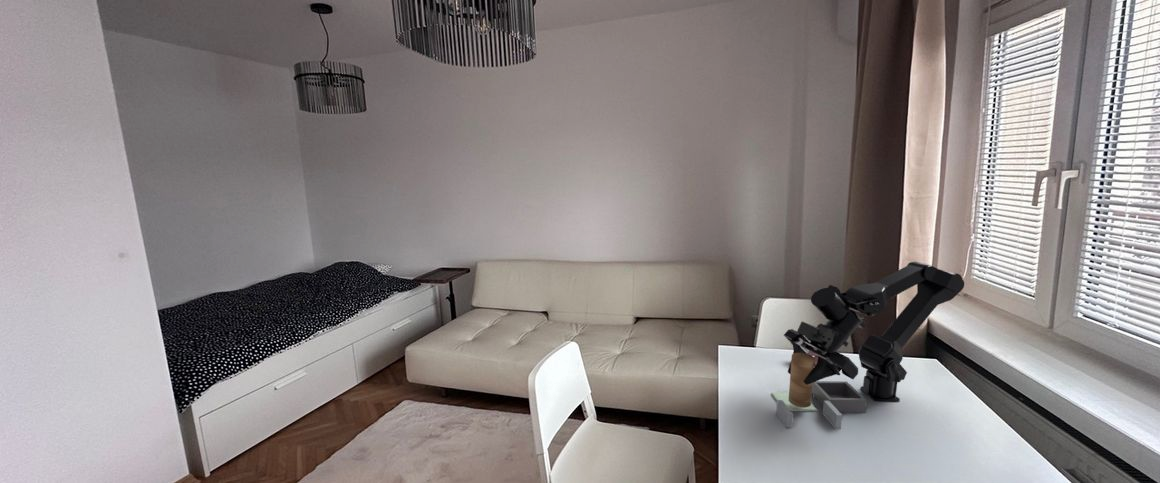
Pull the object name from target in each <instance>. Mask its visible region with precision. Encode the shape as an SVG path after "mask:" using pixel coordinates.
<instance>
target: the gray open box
mask: <svg viewBox="0 0 1160 483" xmlns="http://www.w3.org/2000/svg"><path fill="white" fill-rule="evenodd" d="M812 396H813V398H814V399H815V400H816V401H817V402H818V403H819V404H820V405H821V407H823V406H824V401H830V402H831V403H832V405H833V406H834V407H835V408H836V409H837V410H838V411H839V412H840V413H841V414H842V413H845V414H866V411H867V402H868V400H867V399H866V397H864V396H863V395H862V394H861V393H860V392H859V391H858V390H856V389H855V388H854V387H853V386H852V385H851V384H850V383H849V382H848V381H839V380H837V381H836V380H835V381H833V380H831V381H830V380H829V381H827V380H826V381H824V380H822V381H820V380H818V381H816V382H813V385H812Z"/></svg>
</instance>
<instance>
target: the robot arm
mask: <svg viewBox="0 0 1160 483" xmlns="http://www.w3.org/2000/svg"><path fill="white" fill-rule="evenodd" d="M914 286H916V290H917V291H916V294H915V295H914V297H912V299H911V300H910V301H909V302H908V303H907V305H906V306H905V307H904V309H903V310H902V311H901V312H900V313H899V314H898V316H897V317H896V318H895V319H894V321H893V322H892V323H891V324H890V326H888V328H886V331H884V333H882V334H881V335H879V336H877V335H874V334H870V335H869V336H868V337H867V338H866V340H865V341H864V343H862V344H861V345H860V346H861V347H860V348H859V350H858V358H859V362H860V366H861V368H863V369H865V370H866V373H865V375H864V376H863V383H862V384H863V385H862V386H860V389H861V390H862V391H863V392H864V393H865V394H866V395H867V396H868V397H869V398H870V399H872V400H873V401H874V402H899V401H901V400H900V399H901V398H899V397H898V396H897V391H898V390H897V389H898V383H901V381H904V380H905V378H906V376H907V373H908V371H907V370H906V369H905V368H904V366H902V365H901V362H902V361H903V359H904V358H903V353H904V351H903V348H904V346H906V344H907V343H908V341H909V340H910V339H911V338H912V337H913V336H914V334H915V333H916V331H918V330H919V328H920V327H921V326H922V325H923V323H924V322H925V321H926V320H927V319H928V318H929V316H930V315H931V314H932V312H933V311H934V310H935V309H936V308H937V307H938V306H939V305H941V304H944V303H946V302H949V301H952V300H953V299H955V297H957V295H959V294H960V293H961V291H963V289H964V287H965V281H964V280H963V277H962V275H961V274H960V273H958V272H957V273H956V272H953V271H948V270H944V269H940V268H937V267H935V266H933V265H931V264H929V263H925V262H920V261H917V260H916V261H915V260H914V261H910V262H909V263H907V265H906V266H904V267H902V268H900V269H898V270H897V271H894V272H893V273H891V274H889V275H887V276H885V277H883V278H881V279H880V280H877V281H876V282H872V283H862V284H858V285H854V286H852V287H850V288H848V289H847V290H846V291H841V290H840V289H839V288H838V287H839V286H836V285H833V284H829V285H828V286H827V287H825V288H824V287H823V288H820V289H819V290H816V291H815V292H813V294H812V295H811V297H810V302H811V304H812V305H813V306H814V307H815V308H816V310H817V311H818V312H819V313H820V314H821V315H822V317H824V318H825V319H826V320H827V321H826V323H825V324H823V323H819V324H818V325H816V326H815V325H813V324H809V323H807V322H805V321H803V320H802V321H801V322H800V325H798V326H799V327H798V328H797V329H796V330H795V329H794V328H791V329H787V331H786V332H785V333H784V334H783V337H784V338H785V339H787V342H789V343H790V344H791V345H792V349H793V353H806V354H807V353H808V351H811V352H813V353H815V354H817V355H818V362H817V365H814V368H813V370H812V371H811V372H810V373H809V375H808V376H807V377H806V379H805V380H804V383H805V384H806V385H808V384H811V383H813V382H816V381H820V380H823V379H826V378H830V377H832V376H836V375H837V376H841V373H842V375H844V376H846V377H848V378H850V379H851V380H854V379H855V378H856V377H857V376H858V375H859V367H858V366H857V365H856V364H855V363H854V362H853V361H852V359H850V358H849V357H848V356H847V355H844V354H842V353H841V352H838V351H839V350H840V348H842V346H843V347H845V348H846V347H848V345H849V342H848V341H847V340H848V339H850V337H851V336H852V334H853V333H855V332H854V331H856V330H857V328H860V329H862V330H865V329H866V327H867V326H866V325H867V324H866V323H865V321H866V319H865V317H863V316H860V315H858V314H857V312H858V313H860V314H862V315H865V316H868V317H873V316H875V315H877V314H878V313H879V312H881V311H882V310H883V309H884V308H885V307H887V304H888V301H889V300H891V299H892V298H894V297H896V296H897V295H899V294H902V293H903V292H905V291H907V290H909V289H911V288H913V287H914ZM814 349H816V350H814ZM793 353H792V354H793ZM822 353H823V354H822ZM824 354H825V355H824ZM840 372H841V373H840ZM787 373H788V374H789V375H790V373H791V362H789V367H788V370H787Z"/></svg>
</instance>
